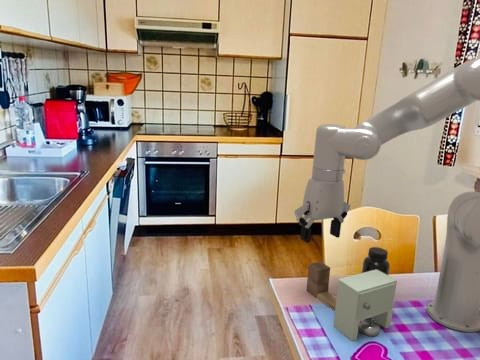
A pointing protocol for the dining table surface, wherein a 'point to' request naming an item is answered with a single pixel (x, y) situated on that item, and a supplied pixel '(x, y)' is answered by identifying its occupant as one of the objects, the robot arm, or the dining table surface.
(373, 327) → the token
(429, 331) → the dining table surface
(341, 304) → the cabinet
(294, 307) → the dining table surface
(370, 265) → the supplement bottle
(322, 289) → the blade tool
